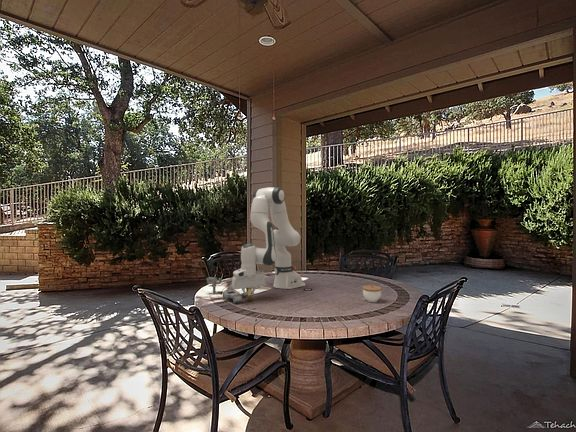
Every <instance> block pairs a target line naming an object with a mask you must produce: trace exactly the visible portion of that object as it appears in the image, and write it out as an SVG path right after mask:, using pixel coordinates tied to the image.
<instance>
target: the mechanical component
mask: <svg viewBox="0 0 576 432" xmlns="http://www.w3.org/2000/svg"><path fill="white" fill-rule="evenodd" d="M205 280H206V284H207V285H211V287H212V294H213V295H214V294H216V287H217V285H220V284H221V283H222V281H223V279H222V278H221V277H219V278H217V277H213V276H212V277H211V276H208V277H206V278H205Z"/></svg>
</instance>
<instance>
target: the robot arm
mask: <svg viewBox="0 0 576 432" xmlns="http://www.w3.org/2000/svg"><path fill="white" fill-rule="evenodd" d="M285 193H286V192H285V191H284V189H283V188H282V187H280V186H279V187H277V186H276V187H272V186H271V187H263V188H257V189H255V190H254V191H253V193H252V203H251V207H250V214H249V215H250V217H249V220H250V224H252V225H253V227H255V228H257V229H259V230H260V231H262V232H263V233H264V235H265V247H256V246H255V244H254V243H245V244H243V245H242V246H241V249H240V261H241V265H240V268H238V269H236V270H234V271H233V272H232V274H233V276H232V278H231V288H232V289H233V290H241V291H242V293H244V296H245V295H247V292H246V288H249V287H252V295H255V291H256V290H257V287H263V286H265V285H266V278H265V276H266V275H265V274H266V273H265V271H264V270H262V269H260V270H257V265H265V266H269V267H271V266H272V265H273V264H275V265H274V281H273V285H272V287H273V288H275V289H276V288H277V289H286V290H292V289H296V288H300V287H301V288H302V287H305V286H306V283H305V282H304V281H303V279H302V276H301V275H300V274H298V273H297V272H296V271H294V270H296V269H297V267H296V266H294V265H292V254H291V253H290V251H288V250H287V248H286V247H296V246H298V245H299V244H300V242H301V235H300V233H299V232H298V231H297V230H295V228H294V227H293V226H292V225H291V222H290V219H289V216H288V211H287V205H286V201H285V198H286V197H285V196H286V195H285ZM269 212H270V217H271V221H270V218H269ZM273 225H274V226H275V227H276V228H277V229H274V227H273Z"/></svg>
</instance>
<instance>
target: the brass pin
mask: <svg viewBox="0 0 576 432" xmlns="http://www.w3.org/2000/svg"><path fill="white" fill-rule="evenodd" d="M252 290H253V288H252V287H249V288H245V292H247V295H246V298H245V300H246V301H247V302H250V301H252V300H253V298H252V296H253V294H252Z"/></svg>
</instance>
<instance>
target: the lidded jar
mask: <svg viewBox="0 0 576 432" xmlns="http://www.w3.org/2000/svg"><path fill="white" fill-rule="evenodd" d="M362 295H363V297H364V299H365V300H366V301H367V302H369V303H377V302H378V301H379V300H380V299H381V296H382V287H381V286H379V285H374V284H371V285H369V284H368V285H364V286H362Z"/></svg>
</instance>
